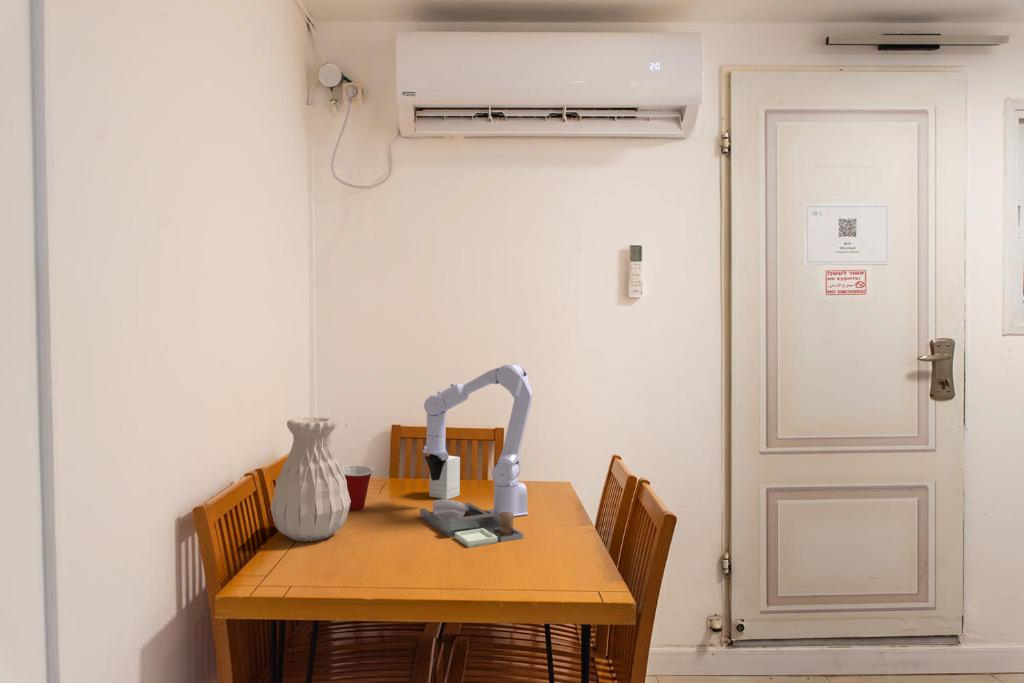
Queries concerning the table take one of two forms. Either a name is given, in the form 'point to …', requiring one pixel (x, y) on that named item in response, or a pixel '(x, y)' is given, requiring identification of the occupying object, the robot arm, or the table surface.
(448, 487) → the supplement box
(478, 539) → the tray
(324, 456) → the vase
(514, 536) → the dowel socket
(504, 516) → the dowel
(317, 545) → the table surface
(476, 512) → the bench stop
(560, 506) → the table surface
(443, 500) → the stone block
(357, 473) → the plastic cup
